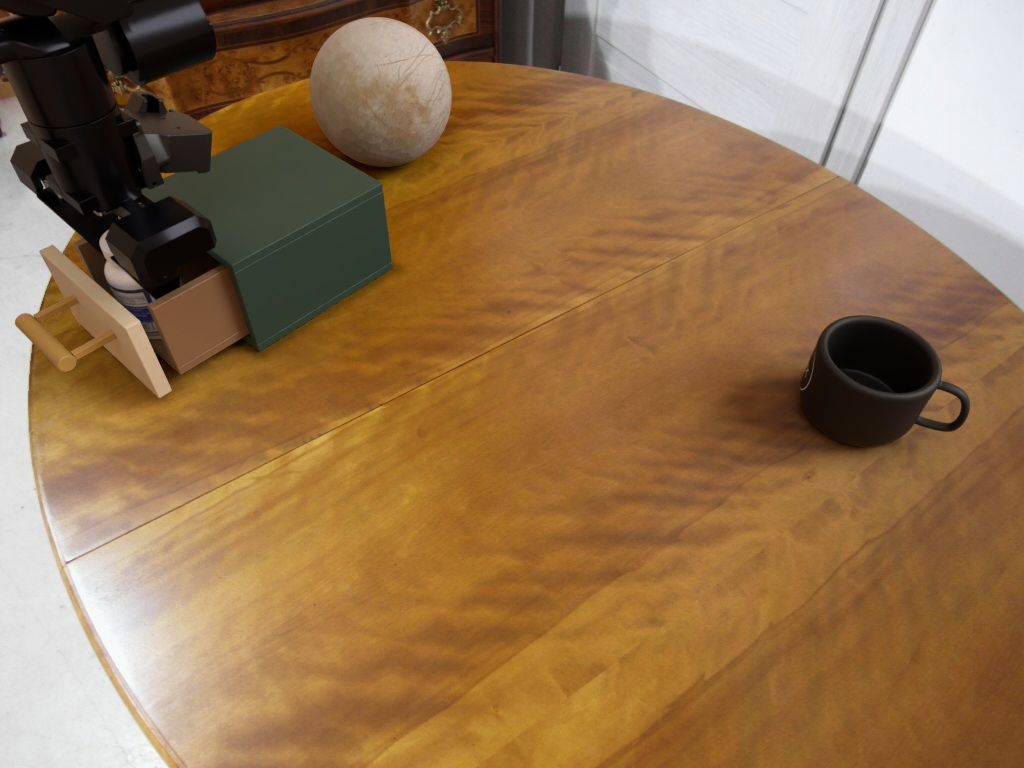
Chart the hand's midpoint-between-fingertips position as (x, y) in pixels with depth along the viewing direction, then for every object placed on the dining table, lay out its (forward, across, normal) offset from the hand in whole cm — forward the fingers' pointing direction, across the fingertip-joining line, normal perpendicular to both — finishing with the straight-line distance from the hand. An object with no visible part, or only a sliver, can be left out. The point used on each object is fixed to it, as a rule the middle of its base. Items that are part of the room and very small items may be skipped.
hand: (146, 285), depth 64 cm
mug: (+6, -50, -33) cm, 60 cm away
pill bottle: (+4, 0, 0) cm, 4 cm away
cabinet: (+6, 0, -12) cm, 13 cm away
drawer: (+5, 0, 0) cm, 5 cm away
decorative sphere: (+6, +8, -33) cm, 35 cm away
